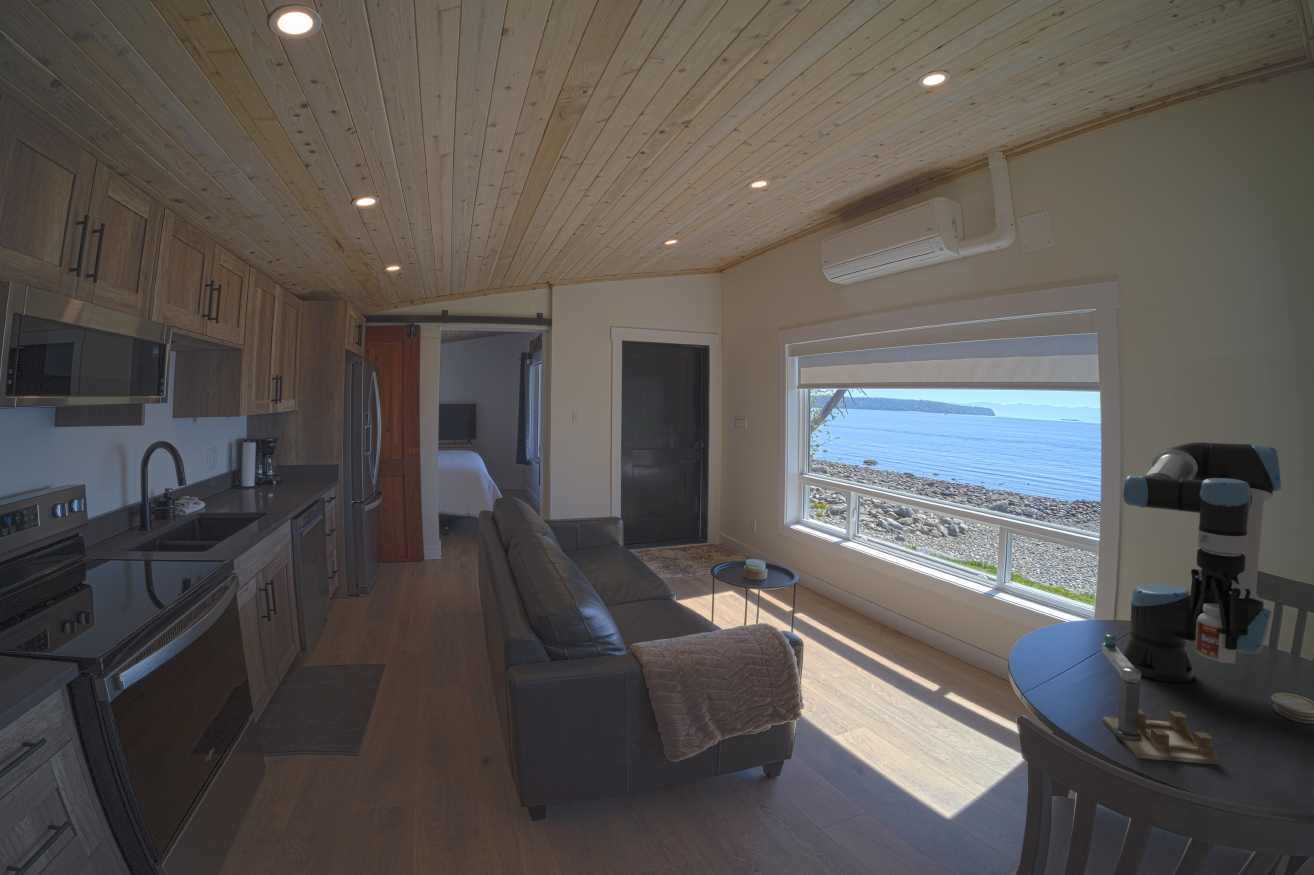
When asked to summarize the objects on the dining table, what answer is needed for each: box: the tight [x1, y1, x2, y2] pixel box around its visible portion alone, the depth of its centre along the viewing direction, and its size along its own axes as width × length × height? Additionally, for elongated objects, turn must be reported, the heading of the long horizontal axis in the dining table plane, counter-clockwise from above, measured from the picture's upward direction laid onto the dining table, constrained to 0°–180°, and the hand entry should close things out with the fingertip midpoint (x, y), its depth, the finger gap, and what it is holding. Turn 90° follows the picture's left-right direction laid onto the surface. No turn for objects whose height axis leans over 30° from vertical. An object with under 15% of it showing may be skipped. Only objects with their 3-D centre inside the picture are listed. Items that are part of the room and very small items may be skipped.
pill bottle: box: [1195, 603, 1223, 662], centre depth 129 cm, size 6×6×11 cm
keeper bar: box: [1101, 633, 1142, 684], centre depth 136 cm, size 16×4×4 cm, turn 159°
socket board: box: [1102, 708, 1219, 765], centre depth 131 cm, size 15×14×4 cm
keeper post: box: [1113, 677, 1141, 741], centre depth 132 cm, size 5×5×12 cm
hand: (1214, 654), depth 129 cm, fingers closed on pill bottle, 6 cm apart
